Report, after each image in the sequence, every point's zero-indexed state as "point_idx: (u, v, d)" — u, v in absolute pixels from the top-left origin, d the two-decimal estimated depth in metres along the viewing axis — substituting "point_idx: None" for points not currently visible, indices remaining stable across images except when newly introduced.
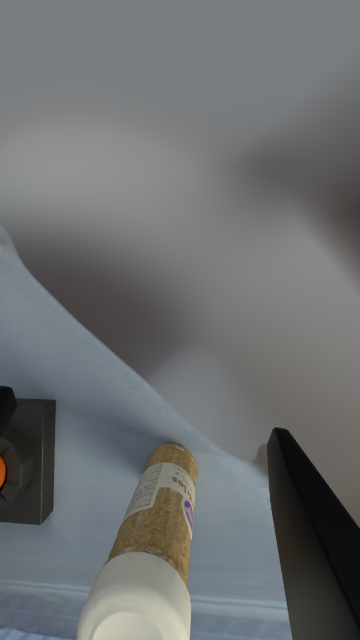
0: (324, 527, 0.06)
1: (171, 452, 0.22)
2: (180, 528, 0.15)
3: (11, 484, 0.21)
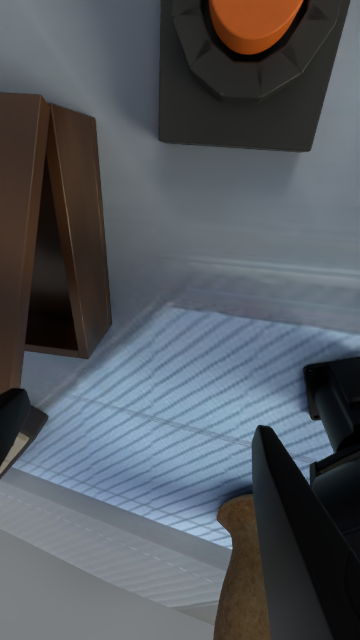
0: (300, 523, 0.06)
1: None
2: None
3: (316, 18, 0.10)
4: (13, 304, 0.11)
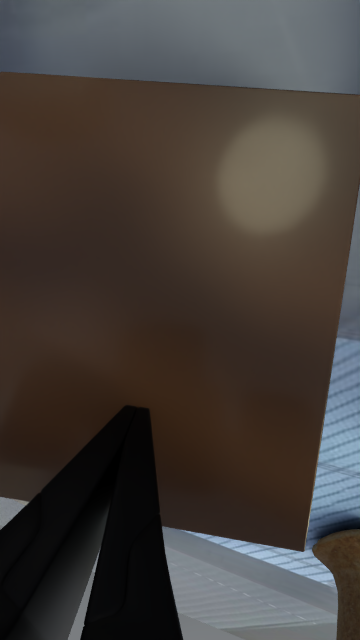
0: (127, 492, 0.06)
1: None
2: None
3: None
4: (324, 368, 0.09)
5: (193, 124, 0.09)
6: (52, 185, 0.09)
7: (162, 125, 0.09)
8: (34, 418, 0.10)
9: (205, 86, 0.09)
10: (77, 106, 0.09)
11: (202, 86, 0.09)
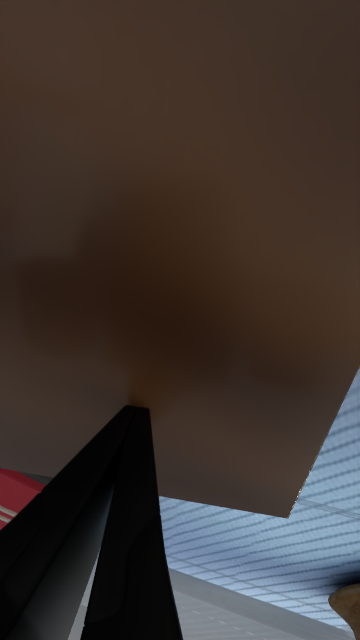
0: (127, 493, 0.06)
1: None
2: None
3: None
4: (335, 399, 0.08)
5: (180, 52, 0.05)
6: None
7: (125, 56, 0.05)
8: (40, 425, 0.10)
9: None
10: None
11: None
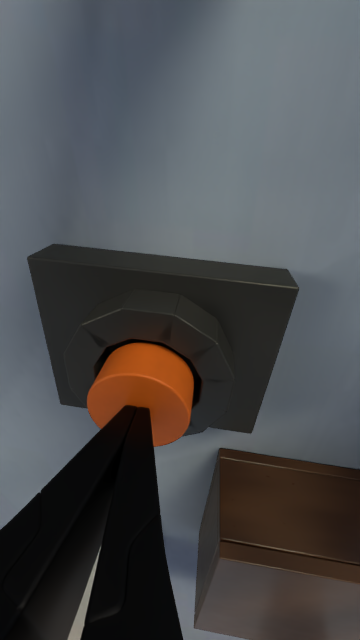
0: (126, 492, 0.06)
1: None
2: None
3: (169, 334, 0.09)
4: None
5: (228, 601, 0.15)
6: (254, 630, 0.17)
7: (227, 607, 0.16)
8: None
9: (206, 594, 0.15)
10: (213, 619, 0.17)
11: (206, 595, 0.15)
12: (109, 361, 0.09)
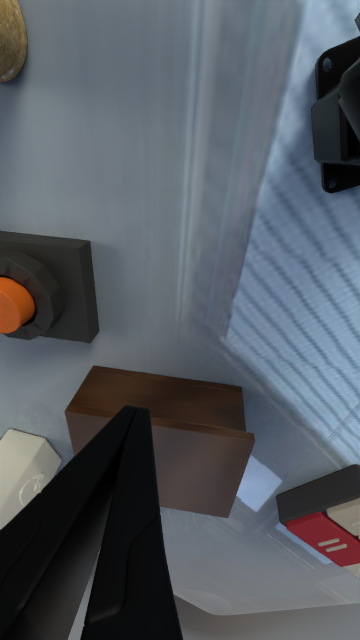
0: (127, 492, 0.06)
1: None
2: None
3: (9, 270, 0.18)
4: (172, 430, 0.21)
5: None
6: None
7: None
8: (199, 500, 0.26)
9: (73, 451, 0.24)
10: None
11: (74, 451, 0.24)
12: None
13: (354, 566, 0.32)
